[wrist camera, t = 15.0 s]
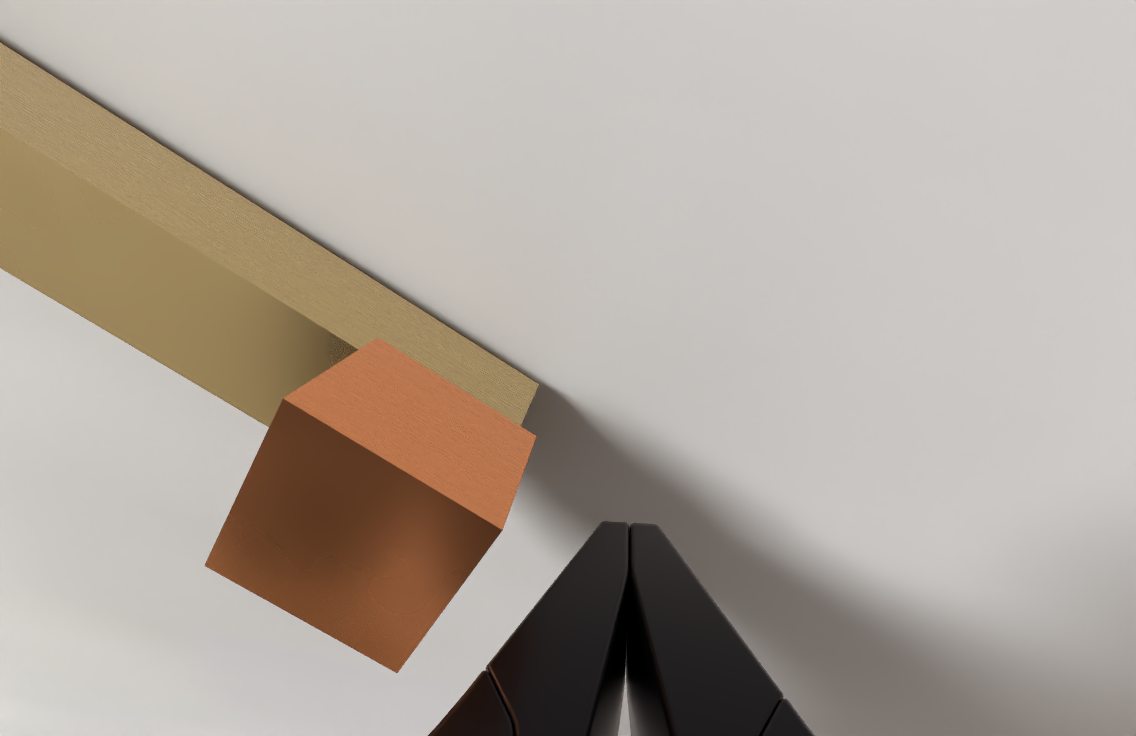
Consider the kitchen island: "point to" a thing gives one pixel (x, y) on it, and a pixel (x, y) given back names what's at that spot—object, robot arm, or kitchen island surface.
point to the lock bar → (274, 368)
